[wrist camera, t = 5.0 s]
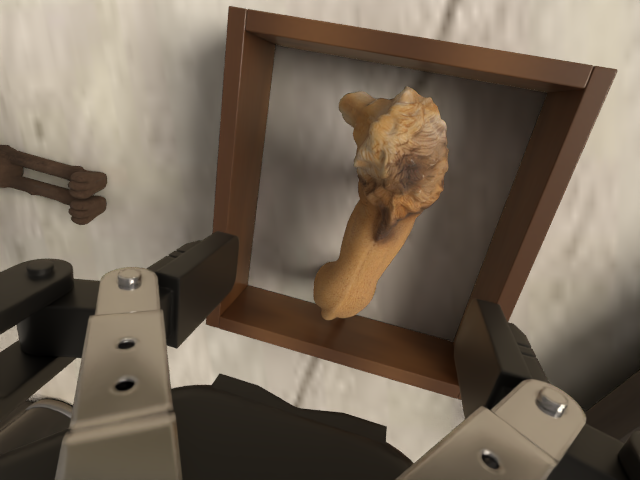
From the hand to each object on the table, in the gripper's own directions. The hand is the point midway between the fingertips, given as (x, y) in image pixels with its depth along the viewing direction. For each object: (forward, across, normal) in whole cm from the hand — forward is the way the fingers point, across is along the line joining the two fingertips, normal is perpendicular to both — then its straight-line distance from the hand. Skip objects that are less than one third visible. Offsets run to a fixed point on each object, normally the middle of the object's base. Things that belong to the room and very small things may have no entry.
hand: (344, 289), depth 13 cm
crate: (+12, 0, 0) cm, 12 cm away
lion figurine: (+12, 0, 0) cm, 12 cm away
